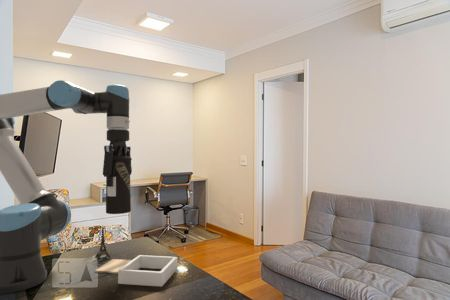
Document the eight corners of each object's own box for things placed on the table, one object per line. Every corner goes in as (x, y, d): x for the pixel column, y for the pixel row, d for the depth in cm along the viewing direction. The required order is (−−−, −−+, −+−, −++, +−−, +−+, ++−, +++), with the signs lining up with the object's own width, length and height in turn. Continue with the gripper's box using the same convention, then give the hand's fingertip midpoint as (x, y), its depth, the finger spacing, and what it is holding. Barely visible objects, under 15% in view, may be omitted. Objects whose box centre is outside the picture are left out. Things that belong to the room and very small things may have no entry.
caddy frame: (118, 283, 90) (118, 270, 90) (139, 266, 103) (139, 255, 104) (161, 286, 87) (161, 272, 87) (177, 268, 101) (177, 256, 101)
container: (123, 215, 98) (123, 155, 99) (99, 214, 100) (99, 155, 101) (136, 210, 107) (136, 155, 107) (113, 209, 109) (113, 155, 109)
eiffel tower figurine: (103, 251, 122) (103, 219, 122) (125, 253, 119) (125, 220, 119) (76, 264, 107) (76, 228, 108) (100, 267, 105) (100, 229, 105)
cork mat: (94, 272, 99) (94, 270, 99) (112, 260, 109) (112, 259, 110) (125, 274, 97) (125, 272, 97) (140, 262, 108) (140, 260, 108)
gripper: (111, 126, 93) (112, 199, 93) (141, 131, 114) (141, 191, 113) (90, 127, 94) (90, 198, 94) (123, 132, 115) (123, 190, 114)
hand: (118, 194), depth 104 cm, fingers closed on container, 8 cm apart
